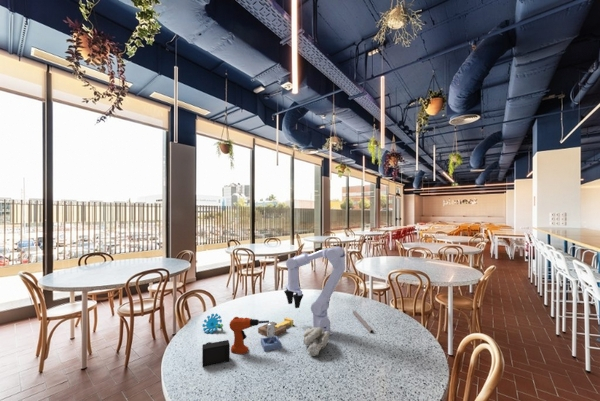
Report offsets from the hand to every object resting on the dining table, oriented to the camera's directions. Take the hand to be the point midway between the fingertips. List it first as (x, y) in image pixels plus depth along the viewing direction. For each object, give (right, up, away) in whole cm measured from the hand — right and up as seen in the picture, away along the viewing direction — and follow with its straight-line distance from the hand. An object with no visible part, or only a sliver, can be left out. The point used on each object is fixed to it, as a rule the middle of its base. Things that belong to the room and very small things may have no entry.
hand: (293, 305), depth 142 cm
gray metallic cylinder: (-10, -9, -22) cm, 25 cm away
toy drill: (-19, -9, -27) cm, 34 cm away
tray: (-10, -9, -22) cm, 26 cm away
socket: (-9, -10, -7) cm, 15 cm away
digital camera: (-31, -9, -34) cm, 47 cm away
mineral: (+10, -9, -25) cm, 29 cm away
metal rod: (+37, -11, +3) cm, 39 cm away
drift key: (-6, -10, -2) cm, 12 cm away
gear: (-41, -11, -6) cm, 43 cm away
